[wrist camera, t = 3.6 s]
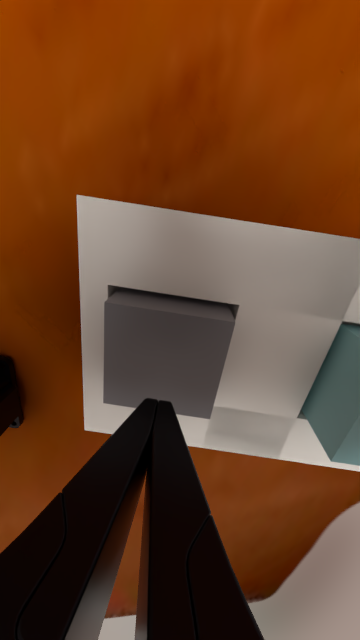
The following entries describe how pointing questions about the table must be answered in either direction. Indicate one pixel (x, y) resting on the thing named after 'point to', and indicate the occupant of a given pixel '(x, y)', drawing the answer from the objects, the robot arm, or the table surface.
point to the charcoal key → (164, 350)
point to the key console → (245, 304)
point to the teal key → (338, 398)
